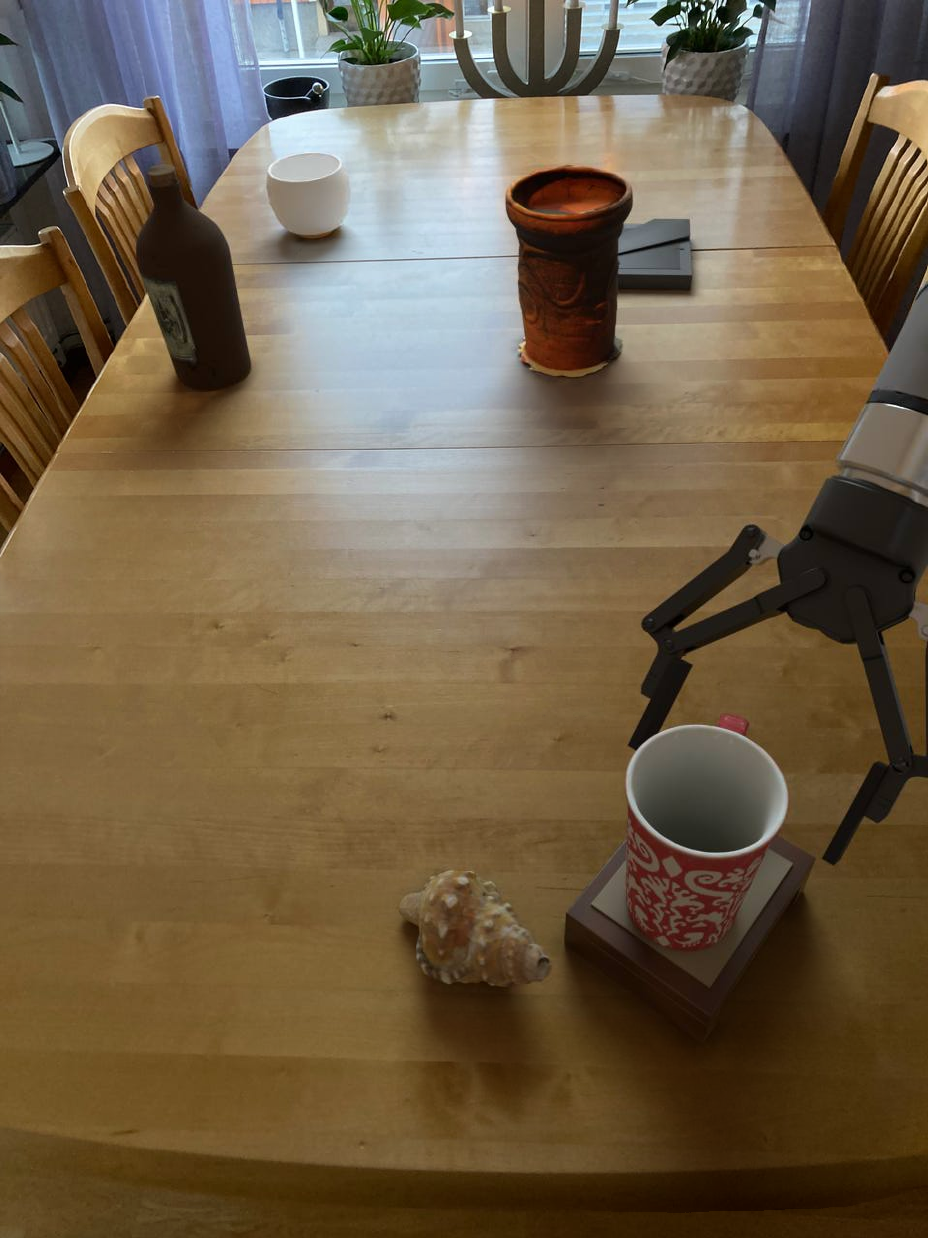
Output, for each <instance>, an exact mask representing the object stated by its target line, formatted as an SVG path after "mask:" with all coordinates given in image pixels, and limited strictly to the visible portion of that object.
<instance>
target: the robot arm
mask: <svg viewBox="0 0 928 1238" xmlns="http://www.w3.org/2000/svg"><path fill="white" fill-rule="evenodd" d="M915 296H916V297H915V299H914V302H913V306H912V308H911V309H910V312H909V314H908V316H907V317H906V320H905V322H904V323H903V326H902V328H901V330H900V332H899V334H898V335H897V338H896V340H895V342H894V344H893V345H892V348H891V350H890V352H889V353H888V356H887V358H886V360H885V362H884V363H883V364H884V365H883V367H882V368H881V370H880V373H879V374H878V376H877V378H876V381H875V382H874V384H873V387H872V389H871V390H870V393H869V396H868V398H867V400H866V402H865V404H864V405H863V406H862V408H861V410H860V412H859V414H858V416H857V418H856V420H855V422H854V424H853V426H852V427H851V429H850V431H849V433H848V435H847V437H846V439H845V441H844V443H843V444H842V446H841V448H840V450H839V452H838V454H837V456H836V458H835V460H834V463H835V467H836V468H837V469H838V471H839V474H834V475H831V476H830V477H828V478H825V479H824V482H823V484H822V486H821V488H820V490H819V491H818V494H817V496H816V497H815V499H814V501H813V504H812V505H811V508H809V511H808V513H807V515H806V517H805V519H804V521H803V523H802V525H801V527H800V529H799V531H798V533H797V534H796V536H795V537H794V538H793V539H792V540H791V541H789V542H788V543H787V544H785V543H783V542H782V541H781V542H780V541H779V540H777V539H776V538H774V537H772V536H771V535H768V533H767V532H766V531H764V530H763V529H762V528H761V527H759V526H758V525H756V524H754V523H749V524H747V525H745V526H744V527H743V528H742V529H741V530H740V532H739V533H738V535H737V537H736V539H735V540H734V542H733V543H732V544H731V547H730V548H729V549H728V551H726V552H725V553H724V554H722V555H721V556H720V557H719V558H718V559H717V560H715V561H714V562H712V563H711V564H710V565H709V566H708V567H706V568H705V569H704V570H702V571H701V572H700V573H699V574H697V575H696V576H694V577H693V578H692V579H691V580H690V581H688V582H687V583H685V585H683V586H682V587H680V589H678V590H677V591H676V592H675V593H673V594H672V595H671V596H669V597H668V598H667V599H665V600H664V601H663V602H662V603H660V604H659V605H658V606H657V607H655V608H654V609H653V610H652V611H650V612H649V613H648V614H646V615H645V616H644V617H643V618H642V619H641V622H640V625H641V629H642V630H643V631H644V632H645V633H647V634H648V635H649V636H650V637H651V638H652V639H653V641H655V643H656V645H657V653H656V655H655V657H654V660H653V661H652V663H651V665H650V667H649V670H648V671H647V674H646V675H645V678H644V679H643V681H642V682H641V685H640V694H641V695H642V696H644V697H646V698H647V699H649V701H648V703H647V705H646V708H645V709H644V711H643V714H642V715H641V717H640V719H639V722H638V724H637V725H636V727H635V729H634V732H633V733H632V735H631V737H630V740H629V741H628V743H627V747H629V748H631V749H632V750H634V751H635V752H636V751H637V749H638V748H639V747H640V746H641V745H642V744H643V743H644V742H646V741H647V740H648V739H649V738H651V737H652V736H654V735H656V734H658V733H660V732H661V729H662V727H663V725H664V723H665V721H666V719H667V717H668V715H669V714H670V712H671V710H672V707H673V705H674V704H675V702H676V700H677V698H678V696H679V694H680V692H681V690H682V688H683V685H684V684H685V682H686V680H687V677H688V676H689V674H690V672H691V670H692V668H693V666H694V664H693V663H691V662H688V661H687V660H685V659H682V658H683V657H686V656H687V654H689V653H692V652H694V651H696V650H699V649H701V648H703V647H706V646H708V645H710V644H712V643H715V642H717V641H719V640H722V639H724V638H727V637H729V636H731V635H733V634H736V633H737V632H738V633H739V632H741V631H742V630H745V629H748V628H750V627H752V626H754V625H757V624H759V623H762V622H763V621H766V620H768V619H772V618H775V617H776V618H777V617H778V616H781V615H783V614H785V613H786V614H787V616H788V617H789V619H791V621H792V622H794V623H797V624H798V625H800V626H802V627H805V628H807V629H810V630H817V631H819V632H821V634H823V635H824V636H825V637H826V638H828V639H830V640H832V641H835V642H837V643H839V644H840V645H857V649H858V652H859V655H860V659H861V661H862V665H863V667H864V671H865V675H866V678H867V679H866V680H867V682H868V686H869V690H870V694H871V697H872V701H873V704H874V709H875V712H876V716H877V721H878V722H879V728H880V731H881V732H880V733H881V735H882V739H883V742H884V747H885V751H886V753H887V757H888V761H889V764H887V763H884V762H882V761H880V760H878V761H875V762H873V764H872V765H871V767H870V769H869V771H868V773H867V775H866V776H865V778H864V780H863V782H862V784H861V785H860V788H859V789H858V791H857V793H856V795H855V796H854V798H853V800H852V802H851V804H850V805H849V808H848V810H847V812H846V813H845V815H844V816H843V819H842V821H841V822H840V824H839V826H838V828H837V830H836V831H835V833H834V835H833V837H832V839H831V841H830V842H829V844H828V846H827V848H826V850H825V851H824V853H823V856H822V857H821V860H823V861H825V862H826V863H828V864H829V865H832V866H835V865H836V864H838V862H840V861H841V859H842V858H843V856H844V854H845V852H846V851H847V849H848V847H849V845H850V844H851V842H852V839H853V838H854V836H855V834H856V832H857V830H858V829H859V826H860V825H861V823H862V821H863V819H864V818H866V819H868V820H871V821H872V822H874V823H875V824H880V823H881V822H883V821H884V820H886V818H887V817H889V815H890V813H891V811H892V809H893V808H894V805H895V804H896V803H897V800H898V798H900V795H901V793H902V792H903V790H904V788H905V786H906V784H907V782H908V781H909V780H910V779H912V778H917V777H918V778H924V779H928V604H927V603H923V602H921V601H917V600H916V591H917V589H918V588H917V587H918V586H919V583H920V581H921V579H922V577H923V576H924V573H926V570H927V568H928V279H927V280H926V281H925V282H924V284H923V286H921V287H920V289H919V291H918V293H917V294H916V295H915ZM770 560H776V566H777V570H778V578H779V583H780V584H777V585H775V586H773V587H771V588H768V589H766V590H764V591H762V592H759V593H757V594H756V595H755V596H753V597H751V598H750V599H747V600H745V601H743V602H740V603H737V604H736V605H733V606H731V607H729V608H727V609H725V610H722V611H719V612H717V613H716V614H713V615H710V616H709V617H706V618H704V619H702V620H700V621H697V622H695V623H693V624H691V625H688V626H686V627H684V628H682V629H679V630H677V631H676V630H675V629H674V628H676V627H677V626H678V625H679V624H681V623H682V622H684V621H685V620H686V619H687V618H689V617H690V616H692V615H693V614H694V613H695V612H696V611H698V610H699V609H701V608H702V607H703V606H704V605H705V604H708V602H709V601H711V600H712V599H714V598H715V597H716V596H717V595H719V594H720V593H721V592H722V591H724V590H725V589H726V588H727V587H729V586H731V585H732V584H733V583H734V582H736V581H737V580H738V579H740V578H741V577H742V576H743V575H744V574H745V573H747V572H748V571H749V570H750V569H751V568H752V567H753V566H755V567H761V566H763V565H765V564H766V563H767V562H769V561H770ZM909 618H910V619H912V620H914V621H915V623H916V633H917V636H918V638H919V639H921V640H922V642H925V643H926V647H925V655H924V656H925V657H924V658H925V659H924V660H925V661H924V666H925V667H924V668H925V673H924V674H925V675H924V676H925V747H926V748H925V754H919V753H915V751H914V747H913V744H912V741H911V736H910V733H909V729H908V725H907V721H906V718H905V714H904V710H903V707H902V703H901V700H900V696H899V692H898V688H897V685H896V682H895V678H894V673H893V670H892V667H891V663H890V659H889V653H888V648H887V645H886V642H885V637H884V634H883V632H885V631H886V630H889V629H891V628H893V627H895V626H897V625H899V624H901V623H903V622H905V621H907V620H908V619H909Z"/></svg>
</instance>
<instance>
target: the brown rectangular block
mask: <svg viewBox="0 0 928 1238" xmlns="http://www.w3.org/2000/svg"><path fill="white" fill-rule="evenodd" d="M626 849H627V837H626V838H625V840H624V841H623V842H622V843H621V844H620V845H619V846H618V848H617V849H616V851H615V852H614V853H613V854H612V855H611V856H610V858H609V859H607V861H606V862H605V864H604V865H603V866H602V868H601V869H600V870H599V871H598V873H597V874H596V875H595V876H594V878H593V879H592V880H591V881H590V882H589V883H588V885H587V886H586V887H585V888H584V890H583V891H582V892H581V893H580V895H579V896H578V897H577V899H576V900H574V902H573V903H572V904H571V905H570V907H569V908H568V909H567V910H566V912H565V920H564V921H565V923H564V939H563V944H564V945H566V946H567V947H568V948H570V949H571V950H572V951H574V952H575V953H577V954H578V955H579V956H581V958H583V959H585V960H586V961H588V962H589V963H590V964H592V965H593V966H594V967H595V968H597V969H598V970H600V971H601V972H602V973H603V974H605V975H606V976H608V977H609V978H611V979H612V980H614V981H615V982H616V983H617V984H619V985H620V986H621V987H622V988H624V989H625V990H627V991H628V992H629V993H631V994H633V996H635V997H637V999H639V1000H640V1001H642V1002H643V1003H645V1004H646V1005H647V1006H649V1007H650V1008H651V1009H653V1010H654V1011H656V1012H657V1013H658V1014H659V1015H661V1016H662V1017H663V1018H665V1019H666V1020H667V1021H669V1022H670V1023H672V1024H673V1025H674V1026H676V1027H677V1028H678V1029H680V1030H682V1031H683V1032H684V1033H686V1034H687V1035H688V1036H690V1037H691V1038H692V1039H694V1041H696V1042H697V1043H699V1044H700V1045H704V1043H705V1042H706V1041H707V1039H708V1038H709V1036H710V1034H711V1032H712V1031H713V1030H714V1028H715V1026H716V1024H717V1021H718V1017H719V1015H720V1012H721V1008H722V1006H723V1005H724V1004H725V1002H726V1001H727V999H728V998H729V996H730V995H731V993H732V991H733V990H734V989H735V987H736V986H737V984H738V982H739V980H740V979H741V977H742V976H743V975H744V973H745V971H746V970H747V969H748V967H749V965H750V964H751V963H752V961H753V959H754V958H755V956H756V955H757V954H758V952H759V950H760V949H761V947H762V946H763V944H764V943H765V941H766V940H767V938H768V936H770V934H771V932H772V930H773V929H774V928H775V927H776V924H778V921H779V920H780V918H781V916H782V915H783V914H784V912H785V911H786V909H787V908H788V906H789V905H791V906H794V905H795V904H796V902H797V901H798V899H799V898H800V896H801V894H802V893H803V891H804V889H805V887H806V885H807V882H808V879H809V878H810V875H811V872H812V869H813V867H814V865H815V862H816V857H815V856H813V855H811V854H810V853H808V852H807V851H806V850H803V849H802V848H800V847H798V846H796V845H795V844H793V843H791V842H790V841H789V840H786V839H785V838H783V837H782V836H780V835H778V834H777V836H776V837H775V838H774V839H773V840H772V841H771V844H770V846H769V848H768V850H767V852H766V854H765V856H764V858H763V860H762V862H761V864H760V866H759V868H758V870H757V873H756V875H755V877H754V879H753V881H752V884H751V886H750V888H749V890H748V892H747V894H746V896H745V898H744V900H743V902H742V904H741V906H740V909H739V911H738V913H737V916H736V918H735V921H734V923H733V925H732V926H731V928H730V930H729V931H728V932H727V933H726V935H725V936H724V937H723V938H722V939H720V940H719V941H718V942H716V943H715V944H713V945H711V946H710V947H707V948H704V949H700V950H695V951H680V950H675V949H671V948H668V947H665V946H662V945H660V944H659V943H657V942H655V941H653V940H652V939H650V938H649V937H648V936H646V935H645V934H644V933H643V932H642V931H641V930H640V929H639V927H638V926H637V925H636V924H635V922H634V920H633V919H632V917H631V915H630V913H629V909H628V906H627V902H626V892H625V887H626V883H625V880H626Z"/></svg>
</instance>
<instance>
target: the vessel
mask: <svg viewBox="0 0 928 1238" xmlns="http://www.w3.org/2000/svg"><path fill="white" fill-rule="evenodd" d="M633 193H634V192H633V187H632V185H631V184H630V183H629V181H627V180H626V179H625V178H623V177H622V176H620V175H618V174H617V173H614V172H610V171H607V170H603V169H599V168H596V167H592V166H584V165H572V164H571V165H570V164H567V165H566V164H565V165H559V166H558V165H557V166H552V167H549V168H545V169H540V170H534V171H533V172H530V173H529V174H526V175H523V176H520V177H519V178H517V179H515V180H514V181H513V182H511V184H510V185H509V186H508V187H507V189H506V193H505V197H504V200H505V201H504V202H505V203H504V204H505V212H506V215H507V218H508V221H509V222H510V223H511V225H512V226H513V227H514V229H515V234H516V238H517V241H518V261H517V274H518V275H517V276H518V278H517V290H518V302H519V307H520V311H521V317H522V325H523V332H524V336H523V337H522V339H523V340H524V341H523V342H521V343H519V344H518V345H519V347H520V348H518V349H517V352H518V353H521V355H520V358H521V360H522V361H523V363H526V364H528V365H530V367H528V369H529V370H531V371H534V372H541V373H542V374H546V375H549V376H553V377H558V376H559V377H560V376H565V377H567V378H577V377H584V376H585V375H587V374H592V373H595V372H597V371H599V370H601V369H603V368H604V366H607V365H608V364H609V361H612V360H613V359H614V358H615V359H616V358H618V357H619V353H620V352H621V350H622V349H623V348H621V346H622V342H623V340H622V339H621V338H618V337H617V336H616V326H617V312H618V294H619V289H618V270H619V262H618V240H619V237H620V236H621V233H622V230H623V228H624V223H625V222H626V220H627V219H628V218H629V216H630V214H631V212H632V211H633V210H632V209H633V206H634V205H633V204H634V195H633Z"/></svg>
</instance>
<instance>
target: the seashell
mask: <svg viewBox="0 0 928 1238" xmlns="http://www.w3.org/2000/svg"><path fill="white" fill-rule="evenodd" d="M398 912H399V914H400V916H401V917H402V918H403V919H404V920H405V921H406V922H409V923H411V924H413V925H414V926H416V927H418V931H419V934H418V937H417V940H416V949H415V956H416V962H417V964H419V966H420V968H421V969H422V972H423V973H424V974H425V975H426V976H429V977H431V978H433V979H435V980H436V981H437V980H438V981H440V982H442V983H445V984H447V985H451V984H453V983H454V982H456V983H457V982H459V983H460V982H461V983H462V984H466V985H467V984H468V983H469V984H470V983H472V984H478V983H480V982H486V983H487V984H488V985H490V986H491V987H492V986H493V987H494V986H497V987H502V988H507V987H510V986H511V985H513V984H516V985H528V984H531V983H540V982H543V981H544V980H545V979H547V977H549V975H550V974H551V972H552V969H553V962H552V960H551V959H550V957H549V956H547V954H546V952H545V949H544V948H543V947H542V945H540V944H537V943H536V941H535V939H534V936H533V933H532V932H531V931H529V930H528V929H526V928H524V927H522V925H521V921H520V920H519V918H518V915H517V913H516V911H515V909H514V908H513V907H512V905H511V904H510V903H508V902H506V901H503V900H501V896H500V894H499V890H498V888H497V886H496V884H495V883H494V882H493V881H489V880H487V879H486V878H483V877H480V876H477V875H476V873H475V871H472V870H466V871H465V870H464V871H457V870H453V869H451V870H448V871H444V872H442V873H439V874H437V875H432V876H430V877H429V878H428V880H427V882H426V883H425V884H424V885H423V887H422V890H420V891H419V892H412V893H411V892H409V893H407V894H406V895H405V896H404V897H403V898H402V900H401V901H400V904H399V907H398Z"/></svg>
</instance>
